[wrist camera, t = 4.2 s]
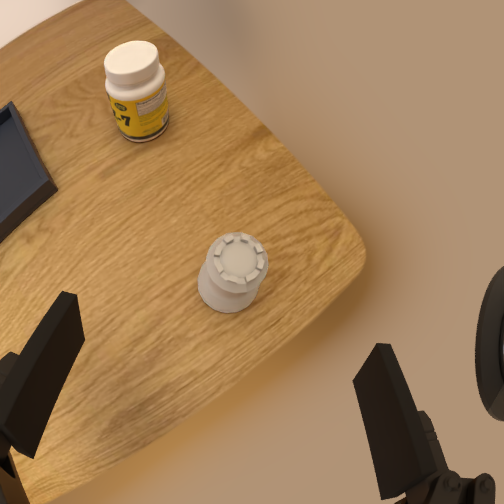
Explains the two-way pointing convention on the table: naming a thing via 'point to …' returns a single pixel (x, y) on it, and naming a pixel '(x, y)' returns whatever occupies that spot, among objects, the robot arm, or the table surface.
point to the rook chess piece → (232, 272)
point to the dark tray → (19, 172)
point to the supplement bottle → (137, 90)
